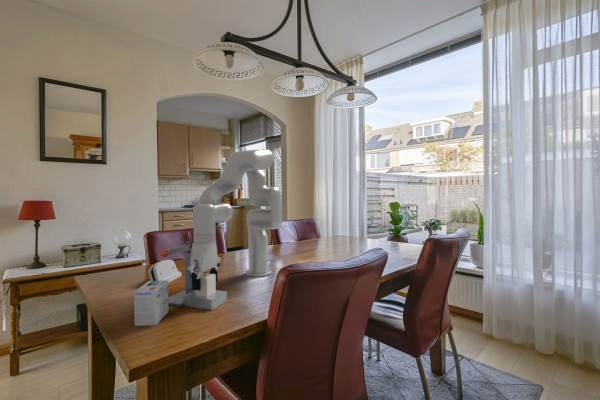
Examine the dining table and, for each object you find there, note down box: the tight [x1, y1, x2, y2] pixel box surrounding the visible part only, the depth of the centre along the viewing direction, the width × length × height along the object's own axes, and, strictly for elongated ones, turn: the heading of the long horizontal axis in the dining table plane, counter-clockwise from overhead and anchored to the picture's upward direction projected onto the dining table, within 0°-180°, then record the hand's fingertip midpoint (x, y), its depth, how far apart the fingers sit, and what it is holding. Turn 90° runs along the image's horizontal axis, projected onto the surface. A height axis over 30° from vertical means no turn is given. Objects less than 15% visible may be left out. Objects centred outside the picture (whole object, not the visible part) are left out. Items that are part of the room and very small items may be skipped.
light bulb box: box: [133, 280, 170, 327], centre depth 95 cm, size 11×7×11 cm, turn 5°
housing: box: [195, 271, 217, 296], centre depth 108 cm, size 5×5×8 cm
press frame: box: [168, 240, 228, 311], centre depth 112 cm, size 17×21×20 cm
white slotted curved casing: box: [147, 259, 183, 284], centre depth 136 cm, size 17×5×10 cm, turn 173°
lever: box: [159, 242, 194, 258], centre depth 115 cm, size 23×3×3 cm, turn 160°
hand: (205, 285), depth 108 cm, fingers open, 9 cm apart
